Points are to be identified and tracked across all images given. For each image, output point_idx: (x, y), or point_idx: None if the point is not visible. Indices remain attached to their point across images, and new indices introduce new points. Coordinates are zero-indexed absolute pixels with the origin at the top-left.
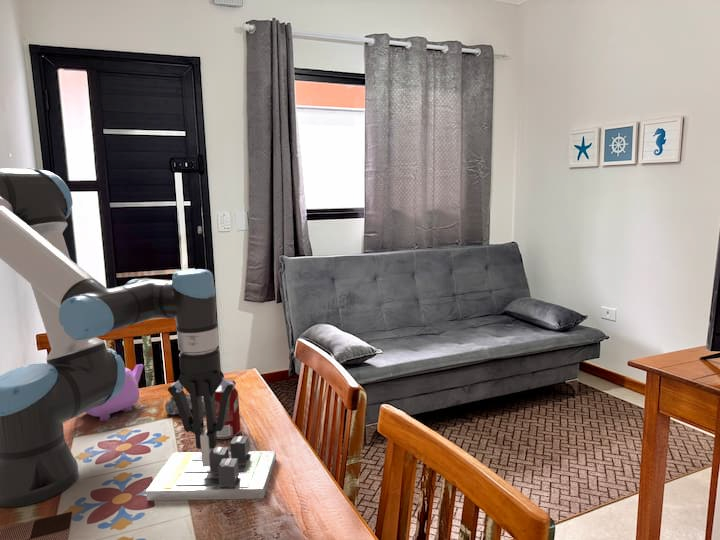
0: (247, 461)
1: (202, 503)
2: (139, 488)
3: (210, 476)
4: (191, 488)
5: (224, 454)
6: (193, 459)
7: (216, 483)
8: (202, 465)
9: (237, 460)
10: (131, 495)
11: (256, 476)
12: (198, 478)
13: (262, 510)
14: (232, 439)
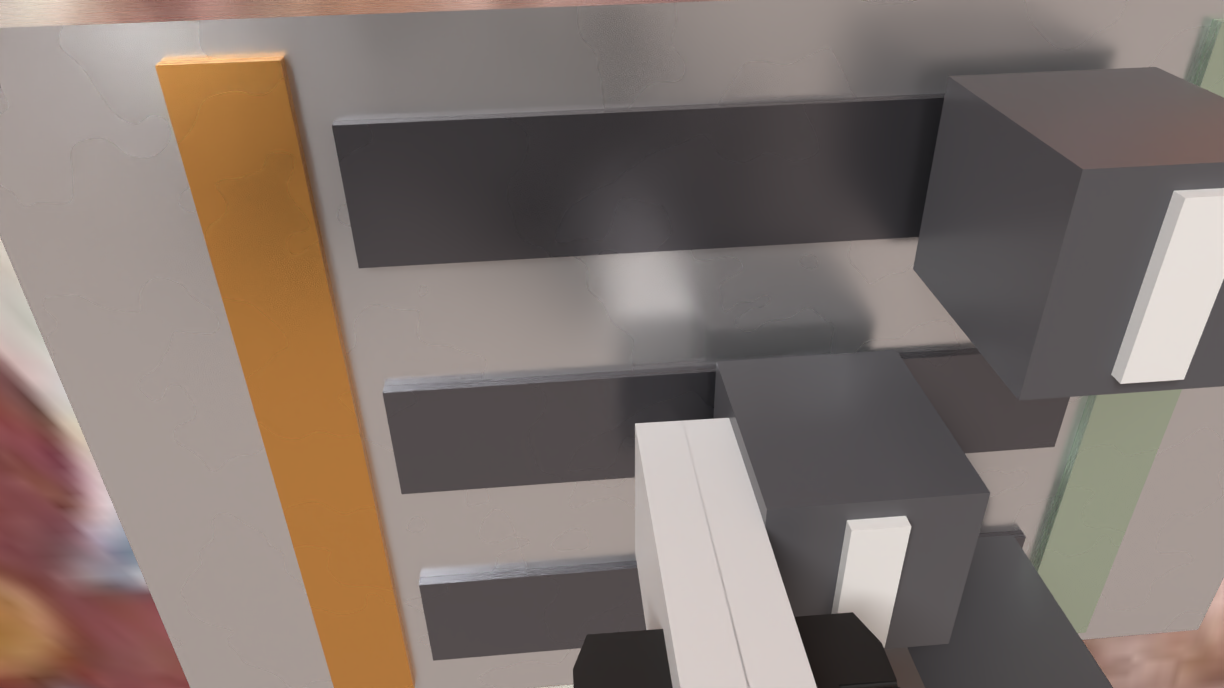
0: None
1: None
2: (12, 514)
3: None
4: None
5: (949, 631)
6: (380, 248)
7: None
8: (636, 557)
9: (1099, 683)
10: (26, 595)
11: (1167, 495)
12: (613, 571)
13: (1122, 655)
14: (1054, 280)
